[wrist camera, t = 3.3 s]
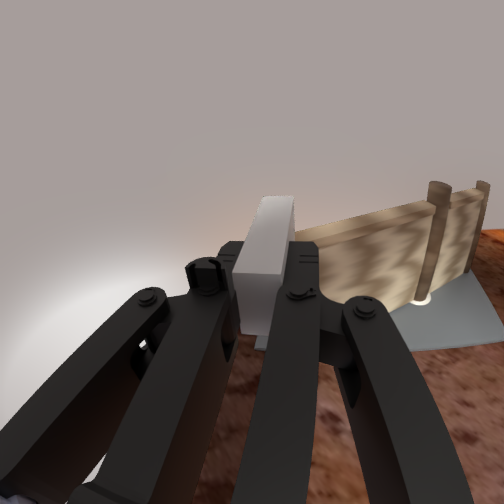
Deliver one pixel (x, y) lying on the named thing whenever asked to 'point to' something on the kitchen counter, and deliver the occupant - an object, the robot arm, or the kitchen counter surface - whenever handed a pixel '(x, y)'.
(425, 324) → the card
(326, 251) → the fence panel
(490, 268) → the kitchen counter surface
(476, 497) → the kitchen counter surface
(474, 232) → the wooden fence section
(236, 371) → the kitchen counter surface
